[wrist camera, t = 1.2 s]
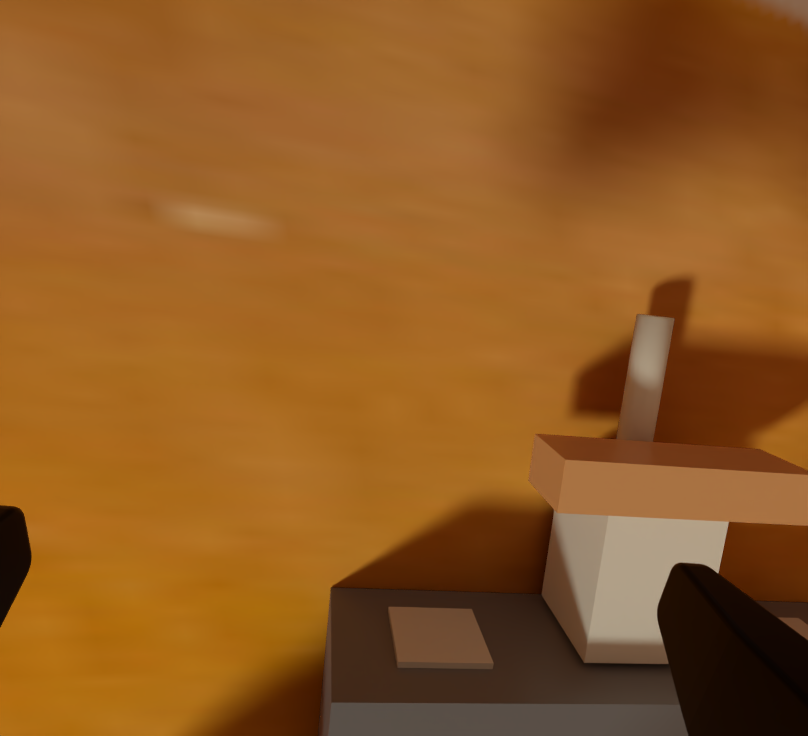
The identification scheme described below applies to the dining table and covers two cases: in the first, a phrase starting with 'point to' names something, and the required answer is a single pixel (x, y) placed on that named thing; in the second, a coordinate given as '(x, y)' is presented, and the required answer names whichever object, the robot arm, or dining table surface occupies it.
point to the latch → (667, 480)
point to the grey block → (484, 670)
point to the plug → (625, 538)
